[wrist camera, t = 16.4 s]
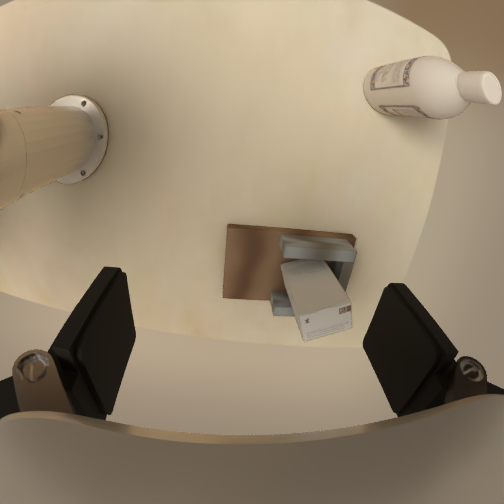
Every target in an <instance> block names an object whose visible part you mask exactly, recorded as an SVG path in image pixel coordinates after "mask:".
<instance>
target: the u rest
mask: <svg viewBox="0 0 504 504" xmlns="http://www.w3.org/2000/svg"><path fill="white" fill-rule="evenodd" d="M355 241H356V238H355V237H354V236H353V235H352V234H344V233H333V232H322V231H311V230H300V229H288V228H276V227H263V226H250V225H236V224H228V225H227V239H226V253H225V268H224V284H223V298H229V299H248V300H270V301H271V306H272V311H273V316H295V315H294V312H293V308H292V305H291V302H290V299H289V296H288V293H287V290H286V288H285V284H284V280H283V275H282V270H281V264H283V263H287V262H291V261H295V260H299V259H311V260H325V262H326V263H327V265H328V266H329V268H330V269H331V271H332V272H333V274H334V275H335V277H336V278H337V280H338V282H339V283H340V285H341V286H342V288H343V289H344V291H346V288H347V285H348V281H349V278H350V275H351V271H352V268H353V264H354V261H355V257H356V254H357V251H356V250H355V249H354V245H355Z"/></svg>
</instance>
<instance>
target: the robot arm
mask: <svg viewBox="0 0 504 504" xmlns="http://www.w3.org/2000/svg"><path fill="white" fill-rule="evenodd" d="M86 102H87V104H86ZM102 135H103V138H102V137H101V136H102ZM107 142H108V128H107V123H106V119H105V116H104V114H103V112H102V110H101V108H100V107H99V106H98V105H97V104H96V103H95V102H94V101H93V100H92V99H90V98H88V97H86V96H81V95H68V96H64V97H62V98H59V99H58V100H56V101H55V102H53V103H52V104H51V105H50V106H49V107H33V108H20V109H10V110H0V209H2V208H3V207H5V206H7V205H9V204H10V203H12V202H14V201H16V200H18V199H19V198H21V197H23V196H25V195H27V194H29V193H31V192H33V191H35V190H37V189H39V188H41V187H43V186H45V185H47V184H49V183H51V182H53V181H56V182H59V183H62V184H72V183H76V182H79V181H81V180H83V179H85V178H87V177H88V176H89V175H91V174H92V173H93V172H94V171H95V170H96V169H97V167H98V166H99V164H100V163H101V161H102V159H103V157H104V154H105V151H106V147H107ZM85 172H86V173H85ZM135 338H136V331H135V326H134V320H133V315H132V309H131V303H130V297H129V290H128V283H127V276H126V273H124V272H122V270H121V269H120V268H116V267H104V268H103V269H102V270H101V272H100V273H99V274H98V276H97V277H96V279H95V280H94V281H93V283H92V284H91V286H90V287H89V289H88V290H87V291H86V293H85V294H84V296H83V297H82V299H81V300H80V302H79V303H78V304H77V305H76V307H75V308H74V310H73V311H72V313H71V315H70V316H69V318H68V319H67V321H66V323H65V324H64V326H63V327H62V329H61V330H60V332H59V334H58V336H57V337H56V338H55V340H54V342H53V344H52V345H51V347H50V349H49V350H48V352H46V351H43V350H38V349H34V350H29V351H27V352H25V353H23V354H22V355H20V356H19V357H18V358H17V360H16V361H15V362H14V365H13V368H12V375H13V376H11V377H9V378H6V379H4V380H1V381H0V504H504V389H502V388H500V387H498V386H496V385H493V384H491V383H489V382H487V374H486V370H485V369H484V367H483V365H482V364H481V363H480V362H479V361H477V360H476V359H474V358H472V357H468V356H463V357H460V358H459V359H458V360H457V362H456V361H455V360H454V358H455V357H456V355H457V353H458V350H457V349H456V348H455V346H454V345H453V344H452V342H451V341H450V340H449V338H448V337H447V336H446V334H445V333H444V332H443V330H442V329H441V328H440V327H439V325H438V324H437V323H436V321H435V320H434V319H433V318H432V316H431V315H430V314H429V313H428V311H427V310H426V309H425V308H424V307H423V305H422V304H421V303H420V302H419V300H418V299H417V298H416V297H415V296H414V294H413V293H412V292H411V291H410V290H409V289H408V287H407V286H406V285H405V284H403V283H390V284H389V285H388V286H387V287H385V288H384V290H383V293H382V296H381V298H380V301H379V303H378V306H377V308H376V311H375V313H374V316H373V318H372V321H371V323H370V326H369V328H368V330H367V333H366V335H365V337H364V340H363V348H364V350H365V352H366V354H367V356H368V358H369V360H370V362H371V365H372V367H373V369H374V371H375V373H376V375H377V377H378V379H379V382H380V384H381V386H382V388H383V390H384V393H385V395H386V397H387V399H388V402H389V404H390V406H391V408H392V410H393V412H394V413H396V414H397V416H398V417H397V418H393V419H388V420H384V421H379V422H374V423H369V424H364V425H358V426H353V427H346V428H339V429H332V430H324V431H315V432H305V433H292V434H274V435H218V434H200V433H187V432H177V431H168V430H161V429H153V428H145V427H139V426H133V425H127V424H121V423H116V422H111V421H106V420H105V419H106V416H107V414H108V415H111V413H112V411H113V408H114V405H115V401H116V398H117V394H118V391H119V388H120V385H121V382H122V378H123V375H124V372H125V369H126V366H127V363H128V360H129V357H130V354H131V351H132V348H133V345H134V342H135Z"/></svg>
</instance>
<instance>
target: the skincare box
mask: <svg viewBox="0 0 504 504" xmlns="http://www.w3.org/2000/svg"><path fill="white" fill-rule="evenodd" d="M281 270H282V275H283V280H284V284H285V288H286V290H287V293H288V296H289V299H290V302H291V305H292V308H293V312H294V315H295V318H296V321H297V324H298V327H299V330H300V333H301V336H302V339H303V341H304V342H305V341H308V340H312V339H316V338H319V337H323V336H326V335H330V334H333V333H337V332H340V331H344V330H347V329H350V328H352V310H351V300H350V299H349V297H348V296H347V294H346V292H345V291H344V289H343V288H342V286H341V285H340V283H339V282H338V280H337V278H336V277H335V275H334V274H333V272H332V271H331V269H330V268H329V266H328V265H327V263H326V262H325V260H311V259H299V260H295V261H291V262H287V263H283V264H281Z"/></svg>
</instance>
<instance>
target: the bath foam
mask: <svg viewBox="0 0 504 504" xmlns="http://www.w3.org/2000/svg"><path fill="white" fill-rule="evenodd" d="M363 88H364V94H365V97H366V99H367V101H368V102H369V104H370V105H371V106H372V107H373V108H374V109H375V110H377V111H378V112H380V113H383V114H387V115H400V116H412V117H423V118H432V119H448V118H452V117H455V116H457V115H459V114H461V113H462V112H463V111H464V110H465V109H466V108H467V107H468V106H469V105H470V103H479V104H488V105H497V104H498V103H499V102H500V100H501V94H502V92H501V86H500V83H499V81H498V79H497V78H496V76H495V75H494V74H493V73H491V72H488V71H472V72H464V71H463V70H462V69H461V68H459V67H458V66H457V65H455V64H454V63H452V62H451V61H449V60H447V59H444V58H441V57H436V56H423V57H418V58H414V59H409V60H404V61H400V62H396V63H392V64H388V65H384V66H380V67H377V68H374V69H372V70H371V71H369V72H368V74H367V75H366V77H365V79H364V85H363Z"/></svg>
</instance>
